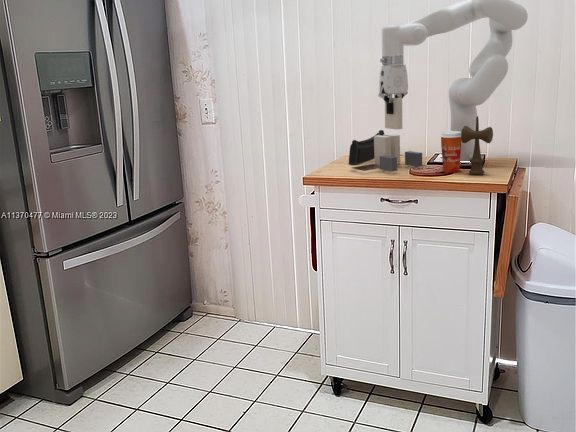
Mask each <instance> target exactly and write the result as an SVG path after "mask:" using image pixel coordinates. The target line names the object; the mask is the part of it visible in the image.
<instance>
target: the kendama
mask: <svg viewBox="0 0 576 432" xmlns="http://www.w3.org/2000/svg"><path fill="white" fill-rule="evenodd" d="M479 124H480V122H479V115H477V117H476V131H474V130H472V129H471V128H469V127H468V126H464V127H463V129H462V131H461V140H462V142H463V143H467V142H468V141H470V140H472V139H475V145H474V152H473V157H472V159H471V160H470V162H471V165H470V169H469V171H468V174H469V175H473V176H479V175H480V176H481V175H484V174H485V170H484V169H483V164H484V162H485V160H484V158H483V159H482V157H481V156H482V153H481V146H480V145H481V144H480V140H481V141H483V142H484V143H486V144H491V143H492V141H493V138H494V131H493V130H494V129H493V127H492V126H488V127H486V128H484V129H481V130H480V125H479Z"/></svg>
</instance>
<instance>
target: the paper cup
mask: <svg viewBox="0 0 576 432" xmlns="http://www.w3.org/2000/svg"><path fill="white" fill-rule="evenodd" d="M439 137H440V144H441V145H440V146H441V147H440V148H441V159H442V162H441V163H442V171H443V173H447V174H455V173H459V172H460V168H461V166H460V164H461V163H460V155H461V132H459V131H451V130H448V131H447V130H446V131H441V133H440V136H439Z"/></svg>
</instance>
